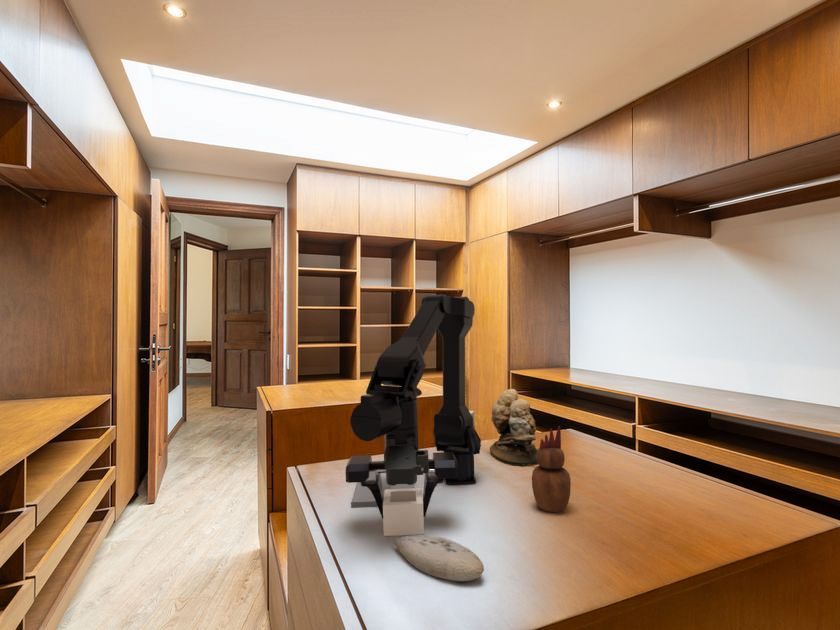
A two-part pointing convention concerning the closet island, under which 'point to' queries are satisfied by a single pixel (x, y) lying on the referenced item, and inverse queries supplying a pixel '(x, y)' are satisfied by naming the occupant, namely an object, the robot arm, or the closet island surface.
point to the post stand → (366, 498)
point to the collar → (403, 512)
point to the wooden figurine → (551, 475)
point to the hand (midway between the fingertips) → (403, 516)
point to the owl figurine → (513, 430)
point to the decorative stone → (440, 557)
